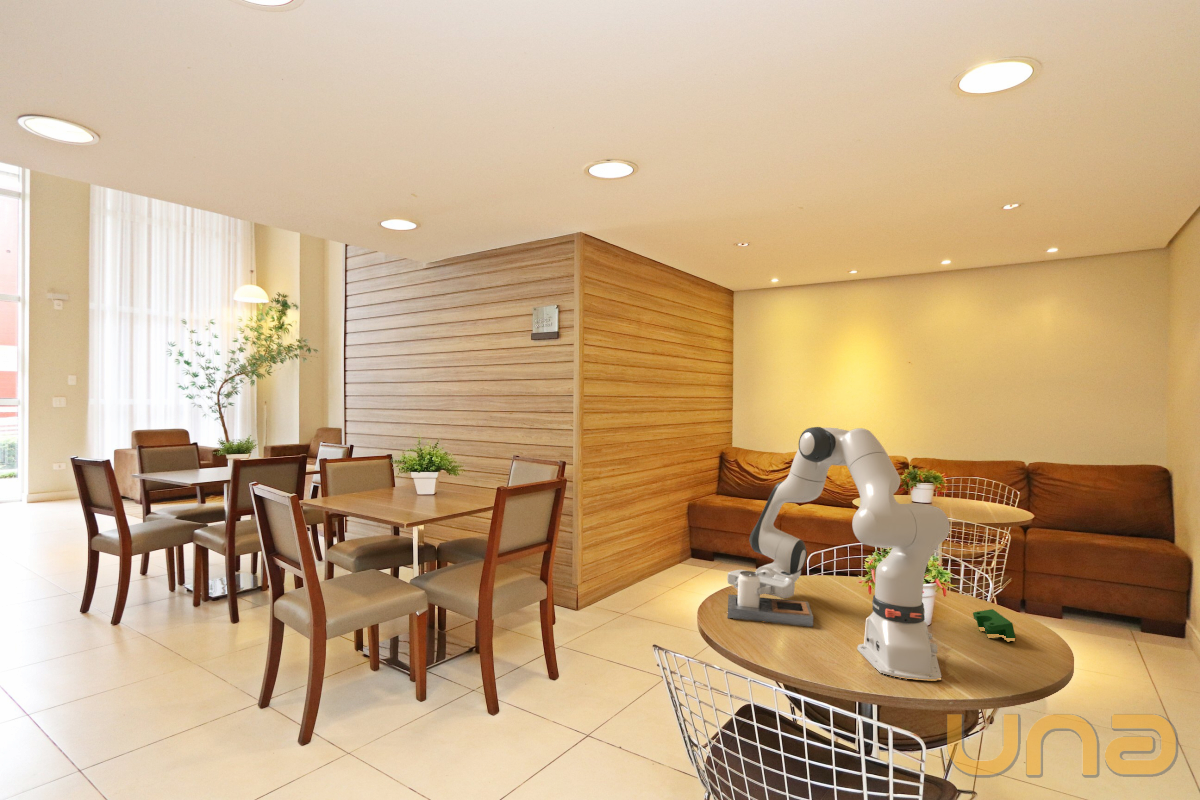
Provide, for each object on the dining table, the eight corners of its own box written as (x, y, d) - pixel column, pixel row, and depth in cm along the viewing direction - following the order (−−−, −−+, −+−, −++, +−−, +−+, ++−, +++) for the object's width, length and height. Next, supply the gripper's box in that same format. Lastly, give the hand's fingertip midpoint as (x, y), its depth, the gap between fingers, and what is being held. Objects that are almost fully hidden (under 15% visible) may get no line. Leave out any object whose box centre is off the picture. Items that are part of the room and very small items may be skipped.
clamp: (981, 645, 179) (969, 612, 183) (1003, 642, 178) (990, 609, 182) (996, 644, 168) (982, 609, 172) (1019, 641, 167) (1005, 606, 171)
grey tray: (812, 627, 178) (813, 615, 178) (727, 618, 183) (727, 607, 183) (807, 611, 190) (808, 601, 190) (728, 603, 195) (728, 593, 195)
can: (752, 618, 183) (753, 578, 183) (733, 612, 188) (734, 573, 187) (762, 613, 188) (764, 573, 188) (743, 607, 192) (745, 569, 192)
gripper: (740, 562, 204) (717, 570, 194) (799, 576, 190) (778, 586, 180) (739, 581, 204) (717, 590, 194) (798, 596, 191) (777, 607, 180)
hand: (747, 588), depth 187 cm, fingers closed on can, 6 cm apart
